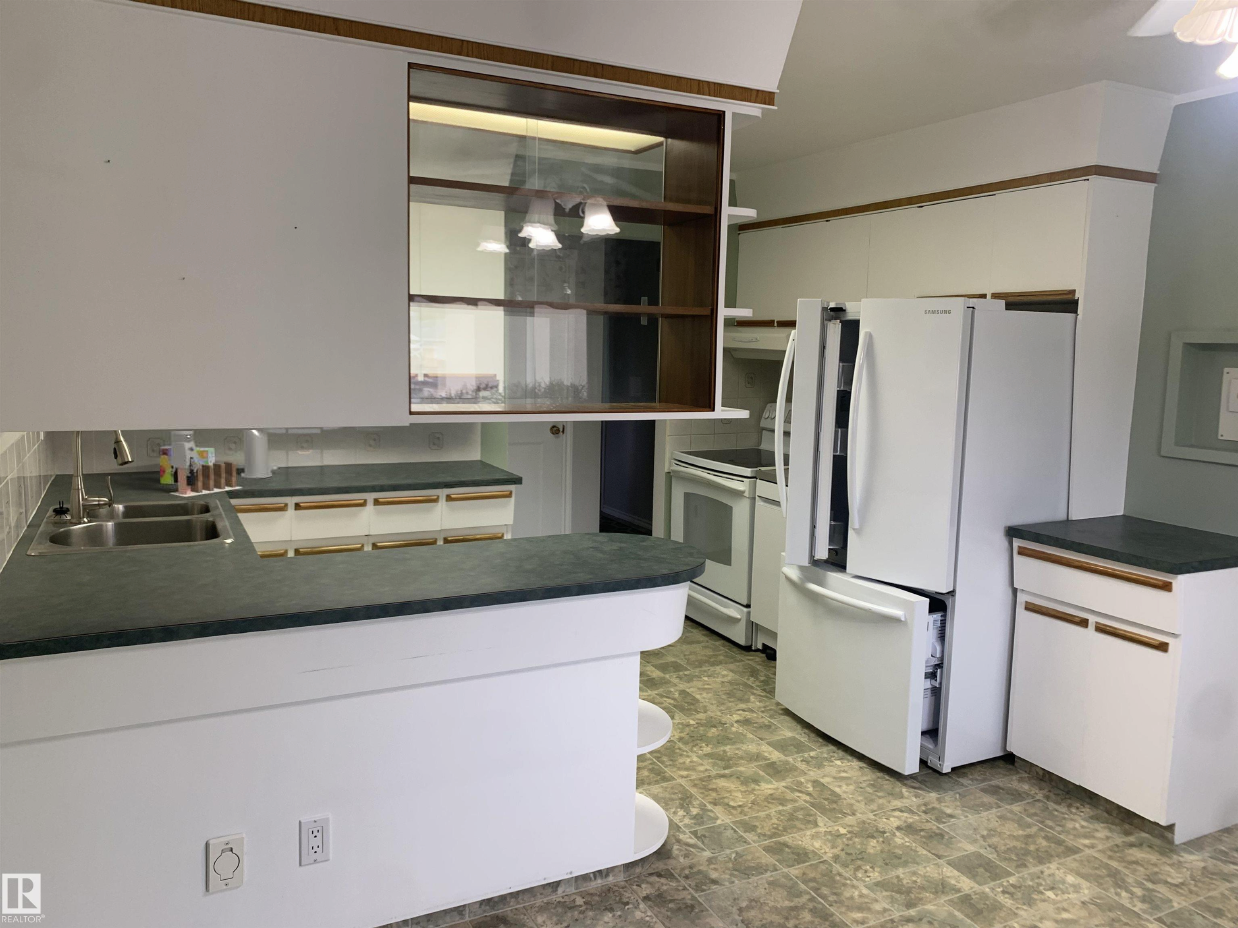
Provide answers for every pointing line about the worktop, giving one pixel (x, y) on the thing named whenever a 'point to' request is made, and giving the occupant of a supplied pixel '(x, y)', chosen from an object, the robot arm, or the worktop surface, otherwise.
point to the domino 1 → (183, 482)
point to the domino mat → (206, 491)
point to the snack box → (165, 456)
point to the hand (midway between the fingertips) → (184, 484)
